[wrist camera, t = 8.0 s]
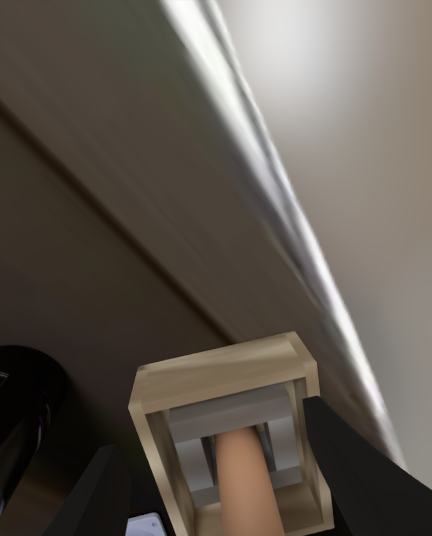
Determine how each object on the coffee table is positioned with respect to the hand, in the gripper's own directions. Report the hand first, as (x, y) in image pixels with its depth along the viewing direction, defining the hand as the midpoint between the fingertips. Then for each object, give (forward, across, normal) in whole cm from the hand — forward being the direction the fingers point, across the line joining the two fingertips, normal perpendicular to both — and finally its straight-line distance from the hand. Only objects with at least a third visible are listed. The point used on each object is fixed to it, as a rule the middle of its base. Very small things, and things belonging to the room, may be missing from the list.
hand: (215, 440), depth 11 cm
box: (+10, 0, +11) cm, 15 cm away
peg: (+10, 0, +9) cm, 13 cm away
